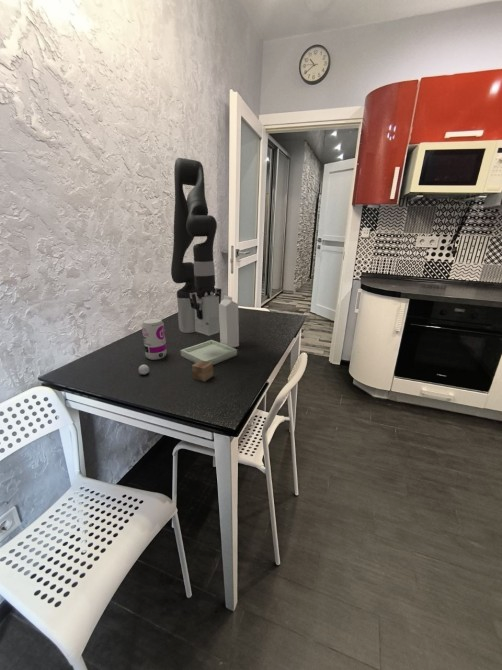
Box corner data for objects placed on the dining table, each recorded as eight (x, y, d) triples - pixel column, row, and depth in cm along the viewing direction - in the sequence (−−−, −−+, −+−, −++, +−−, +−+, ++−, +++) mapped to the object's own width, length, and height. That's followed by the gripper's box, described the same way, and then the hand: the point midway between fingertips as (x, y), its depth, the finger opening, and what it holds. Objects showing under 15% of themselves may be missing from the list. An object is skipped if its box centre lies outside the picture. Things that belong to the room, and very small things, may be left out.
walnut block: (192, 378, 105) (191, 365, 103) (201, 372, 109) (200, 360, 107) (204, 381, 103) (203, 368, 101) (213, 375, 107) (212, 362, 105)
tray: (181, 355, 123) (180, 350, 122) (212, 345, 134) (211, 339, 133) (205, 367, 112) (205, 361, 112) (237, 355, 123) (236, 349, 122)
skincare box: (195, 331, 120) (192, 294, 115) (206, 328, 124) (204, 292, 119) (209, 336, 115) (207, 297, 110) (221, 332, 119) (219, 294, 114)
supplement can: (170, 353, 125) (167, 318, 120) (158, 361, 118) (154, 324, 113) (154, 351, 128) (149, 316, 123) (141, 358, 120) (136, 322, 115)
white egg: (137, 374, 108) (136, 365, 107) (146, 370, 110) (145, 362, 109) (142, 377, 106) (140, 368, 105) (151, 373, 108) (150, 364, 107)
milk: (227, 349, 129) (225, 298, 122) (220, 345, 134) (217, 295, 126) (239, 345, 133) (238, 296, 125) (231, 341, 137) (230, 293, 129)
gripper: (213, 270, 119) (215, 311, 125) (182, 274, 109) (185, 319, 115) (225, 272, 114) (227, 315, 120) (194, 276, 105) (197, 323, 110)
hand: (207, 317), depth 118 cm, fingers closed on skincare box, 6 cm apart
